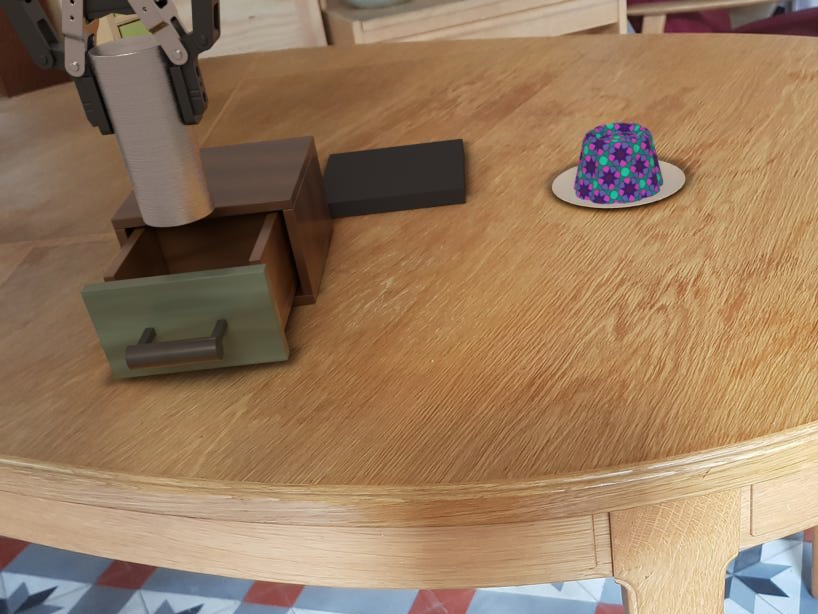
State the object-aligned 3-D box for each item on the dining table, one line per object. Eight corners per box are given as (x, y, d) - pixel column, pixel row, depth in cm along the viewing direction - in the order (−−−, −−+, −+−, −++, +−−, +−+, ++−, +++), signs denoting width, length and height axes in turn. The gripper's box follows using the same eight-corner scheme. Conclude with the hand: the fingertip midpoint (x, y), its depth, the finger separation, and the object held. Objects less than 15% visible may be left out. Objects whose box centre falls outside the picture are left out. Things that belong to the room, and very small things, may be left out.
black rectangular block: (317, 220, 89) (314, 204, 88) (332, 168, 100) (329, 154, 99) (465, 203, 88) (464, 187, 87) (464, 152, 99) (462, 138, 98)
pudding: (697, 207, 81) (698, 146, 78) (557, 222, 82) (554, 162, 79) (672, 159, 91) (673, 103, 88) (547, 173, 92) (544, 118, 88)
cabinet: (315, 303, 75) (290, 198, 70) (147, 322, 76) (110, 219, 70) (333, 229, 86) (313, 134, 81) (188, 246, 87) (158, 153, 82)
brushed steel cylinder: (135, 230, 64) (76, 59, 58) (154, 203, 68) (101, 39, 61) (207, 223, 64) (157, 50, 57) (222, 195, 68) (176, 31, 61)
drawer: (278, 393, 63) (252, 301, 59) (97, 412, 63) (58, 323, 59) (310, 275, 77) (291, 194, 73) (161, 292, 78) (133, 213, 73)
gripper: (199, -205, 55) (268, 98, 65) (-41, -175, 55) (66, 121, 66) (167, -200, 49) (250, 133, 59) (-101, -166, 49) (27, 158, 60)
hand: (152, 125), depth 62 cm, fingers closed on brushed steel cylinder, 5 cm apart
